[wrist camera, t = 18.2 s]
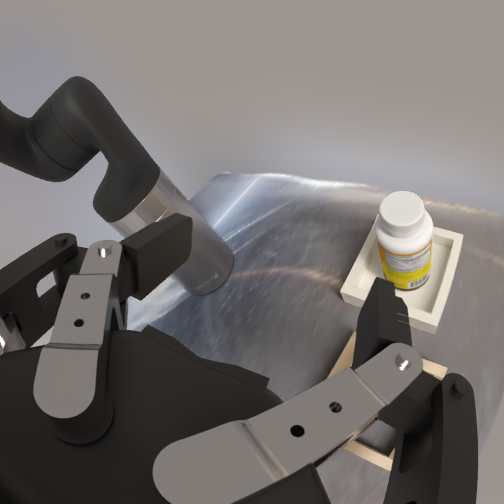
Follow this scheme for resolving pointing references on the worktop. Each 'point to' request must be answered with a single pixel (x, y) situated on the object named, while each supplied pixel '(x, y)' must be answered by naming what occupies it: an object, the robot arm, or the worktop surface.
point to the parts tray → (418, 302)
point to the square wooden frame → (356, 446)
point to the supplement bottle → (405, 240)
